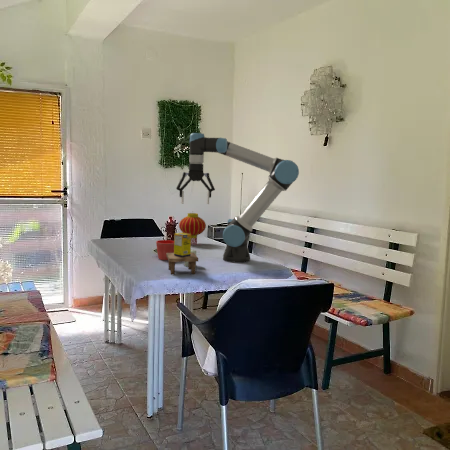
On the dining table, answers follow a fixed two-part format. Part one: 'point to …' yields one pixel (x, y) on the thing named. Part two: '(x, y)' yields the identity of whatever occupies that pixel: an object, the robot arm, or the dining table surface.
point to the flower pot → (164, 248)
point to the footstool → (190, 259)
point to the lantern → (192, 226)
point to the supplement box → (182, 244)
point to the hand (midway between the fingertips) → (195, 203)
